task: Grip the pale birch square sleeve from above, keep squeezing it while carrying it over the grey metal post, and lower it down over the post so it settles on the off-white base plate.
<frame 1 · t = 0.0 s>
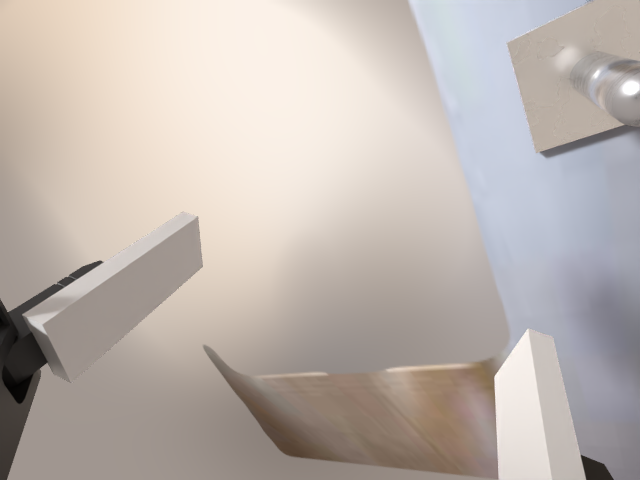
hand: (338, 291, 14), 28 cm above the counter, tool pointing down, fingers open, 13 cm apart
post stand: (587, 71, 29), on the counter
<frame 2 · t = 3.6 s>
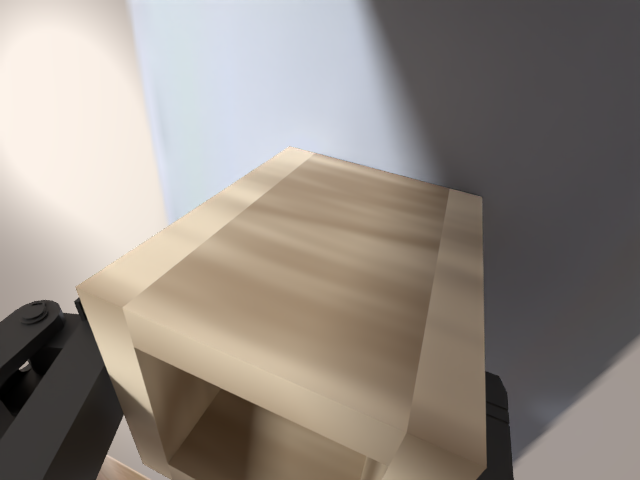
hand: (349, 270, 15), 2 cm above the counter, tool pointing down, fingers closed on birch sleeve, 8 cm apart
birch sleeve: (360, 249, 16), on the counter, touching gripper
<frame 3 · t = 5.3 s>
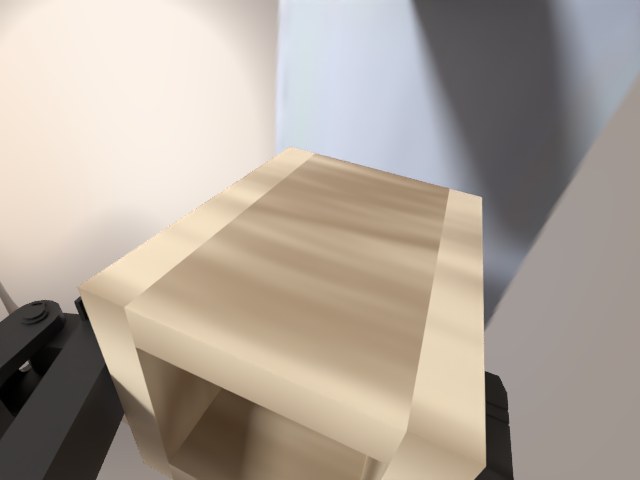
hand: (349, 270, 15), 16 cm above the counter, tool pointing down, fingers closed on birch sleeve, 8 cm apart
birch sleeve: (360, 249, 16), point 14 cm above the counter, touching gripper
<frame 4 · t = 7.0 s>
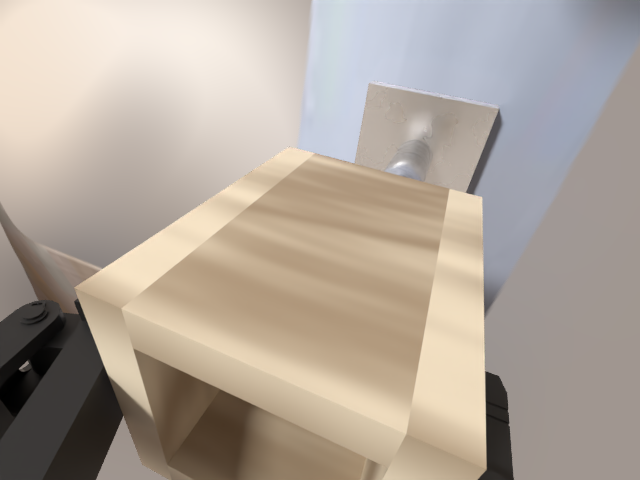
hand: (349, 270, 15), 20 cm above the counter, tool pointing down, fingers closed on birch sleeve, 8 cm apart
post stand: (416, 151, 31), on the counter
birch sleeve: (360, 249, 16), point 18 cm above the counter, touching gripper
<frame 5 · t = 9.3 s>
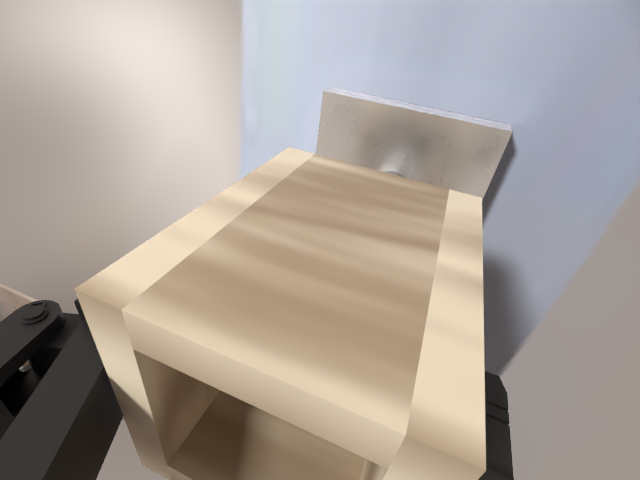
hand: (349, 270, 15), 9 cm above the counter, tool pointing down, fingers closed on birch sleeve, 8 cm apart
post stand: (394, 185, 22), on the counter
birch sleeve: (360, 250, 16), point 8 cm above the counter, touching gripper
when the fingers open (5 cm above the counter, at t = 10.8 s): birch sleeve drops 1 cm, resting on post stand.
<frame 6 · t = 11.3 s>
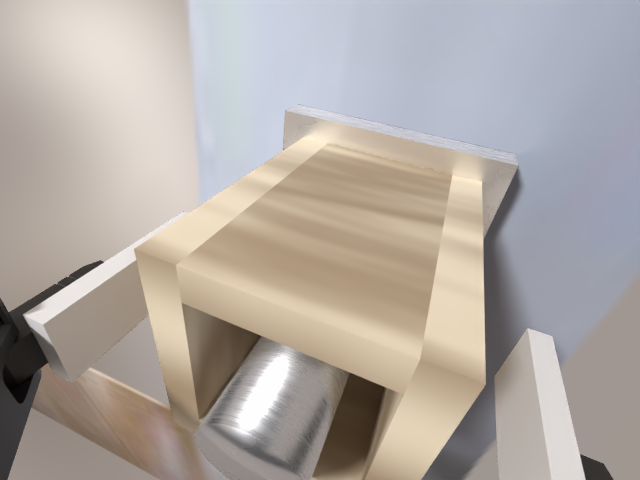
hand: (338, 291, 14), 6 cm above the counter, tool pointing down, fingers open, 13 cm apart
post stand: (375, 220, 19), on the counter
birch sleeve: (368, 234, 17), point 1 cm above the counter, touching post stand
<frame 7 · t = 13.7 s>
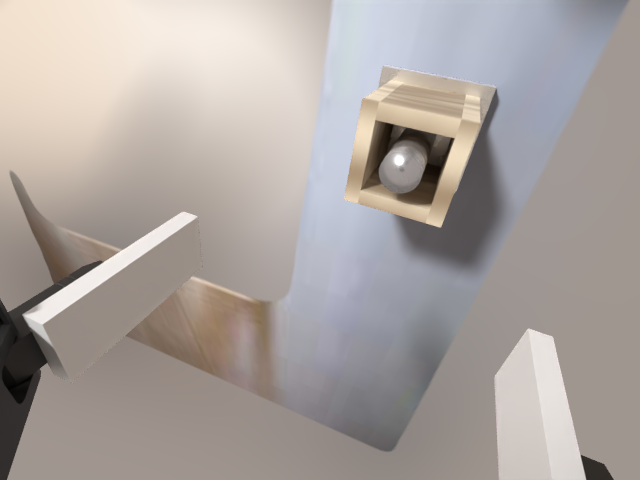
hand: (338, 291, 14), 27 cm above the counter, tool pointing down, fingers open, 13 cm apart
post stand: (423, 128, 35), on the counter
birch sleeve: (421, 132, 33), point 1 cm above the counter, touching post stand
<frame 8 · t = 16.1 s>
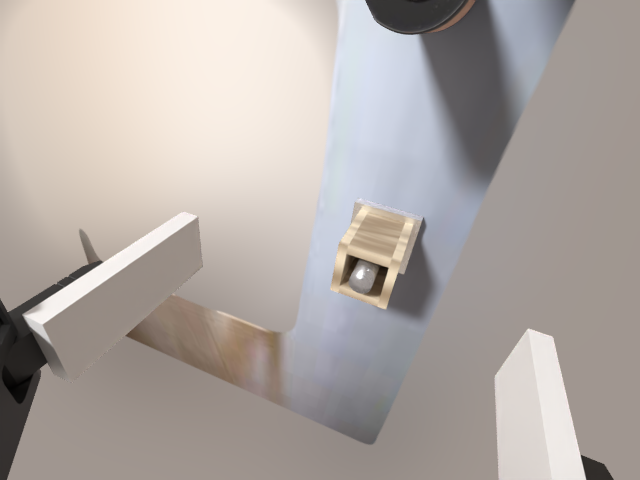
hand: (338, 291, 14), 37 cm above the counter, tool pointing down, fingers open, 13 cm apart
post stand: (382, 234, 54), on the counter
birch sleeve: (380, 239, 53), point 1 cm above the counter, touching post stand
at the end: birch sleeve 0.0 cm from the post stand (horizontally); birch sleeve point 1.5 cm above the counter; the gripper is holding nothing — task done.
